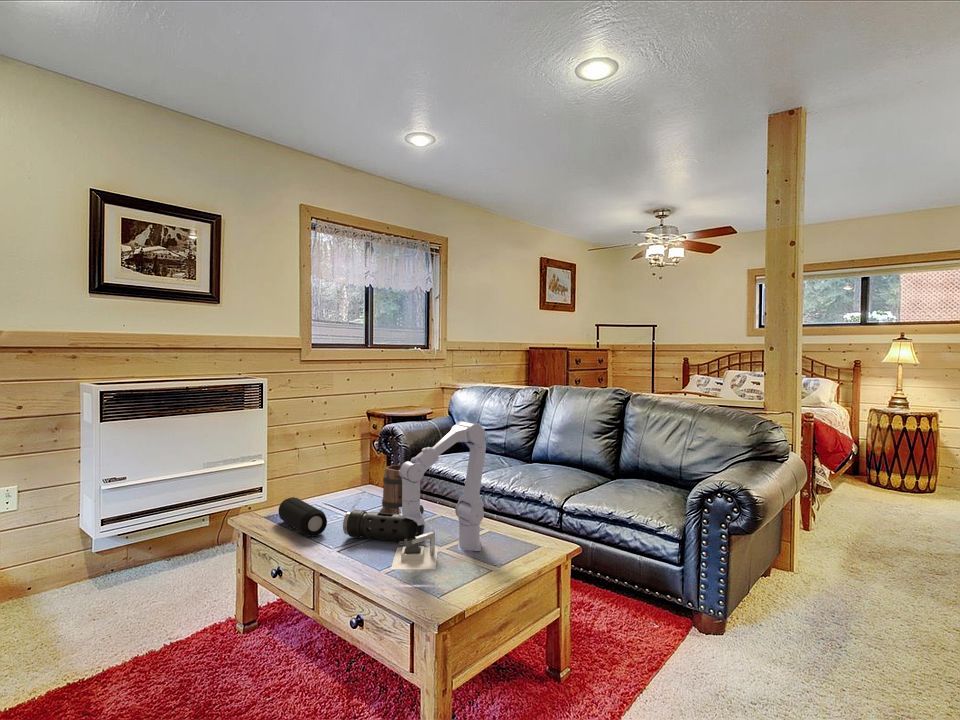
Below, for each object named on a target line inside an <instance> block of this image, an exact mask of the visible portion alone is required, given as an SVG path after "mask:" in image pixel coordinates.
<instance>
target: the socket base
mask: <svg viewBox="0 0 960 720" xmlns="http://www.w3.org/2000/svg"><path fill="white" fill-rule="evenodd" d="M438 547H439V546H435V555H434V556H430V546H424V545H423V546H422V545H421V546H420V545H419V554H406V546H400V547H399V546H398V547H396V551H395V554H394V557H393V561H392V564H391V567H390V570H392V571H393V570H394V571H395V570H396V571H397V570H402V571H403V570H405V571H406V570H436V568H437V558H438Z"/></svg>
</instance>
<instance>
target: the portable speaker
mask: <svg viewBox="0 0 960 720" xmlns="http://www.w3.org/2000/svg"><path fill="white" fill-rule="evenodd" d="M278 517H279V518H280V520H281V521H283V522H284V523H286V524H288V525H289V526H290V527H292V528H293V529H295V530H297V531H299V532H300V533H302V534H303V535H305V536H308V537H315V536H316V537H317V536H320V535H321V534H322V533H323V532H324V531H325V530H326V528H327V526H328V519H327V515H326V514H325V512H324V511H323V510H320V509H319V508H317V507H315V506H313V505H311V504H309V503H307V502H306V501H303V500H302V499H299V498H297V497H294V496H293V497H292V496H291V497H288V498H286V499H283V500H282V501H281V503H280V504H279V506H278Z"/></svg>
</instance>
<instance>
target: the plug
mask: <svg viewBox="0 0 960 720" xmlns="http://www.w3.org/2000/svg"><path fill="white" fill-rule="evenodd" d="M415 537H416V536H415ZM398 545H400V546H401V545H402V546H403V545H404V541H398ZM404 546H405V545H404ZM419 546H420V542H418V543H415V544H412V546H409V547H408V546H405V547H406V554H419Z"/></svg>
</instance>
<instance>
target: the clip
mask: <svg viewBox="0 0 960 720" xmlns="http://www.w3.org/2000/svg"><path fill="white" fill-rule="evenodd" d="M426 540H429V547H430V556H434V555H435V547H436V542H435V541H436V533H435V531H429V532H427V533H423V535H420V536H416V537H413V538H410V539H409V538H407V539H404V541H403V542H404V547H406V546H408V547H409V546H412V544H415V543H418V542H419V543H421V542H424V541H426Z"/></svg>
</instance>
